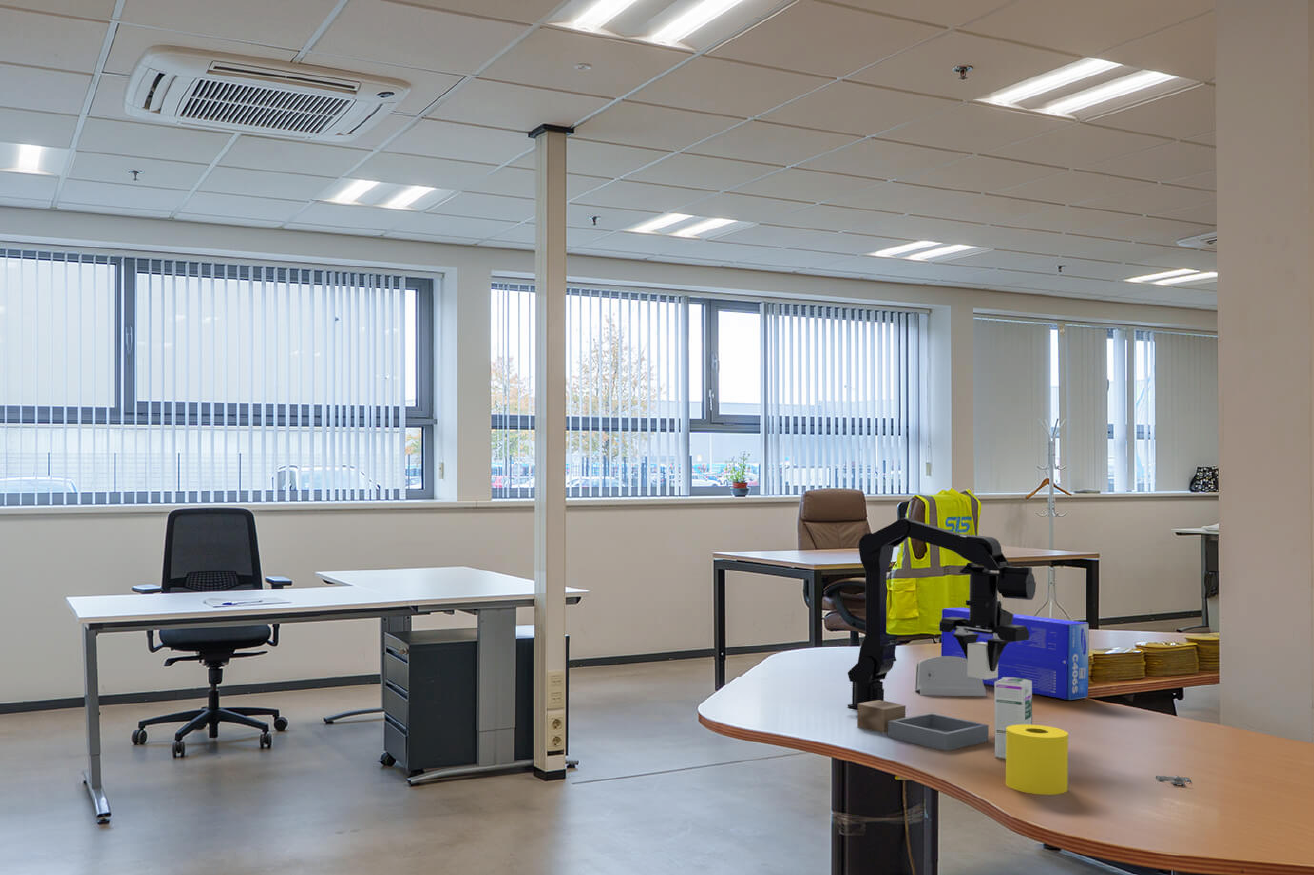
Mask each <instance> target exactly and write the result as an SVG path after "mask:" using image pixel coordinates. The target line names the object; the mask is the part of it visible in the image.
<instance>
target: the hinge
mask: <svg viewBox="0 0 1314 875" xmlns="http://www.w3.org/2000/svg"><path fill="white" fill-rule="evenodd" d="M967 662H968V661H967V659H966V658H962V657H956V656H941V655H939V656H934V657H930V658H926V659H922V660H920V661H919V662H918V663H917V664H916V667H915V669H916V670H915V687H914V692H917V693H918V692H919V695H920V696H949V697H950V696H951V697H953V696H954V697H987V692H986V688H985V685H984V684H983V680H982V679H979V678H974V677H968V676H967Z"/></svg>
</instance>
